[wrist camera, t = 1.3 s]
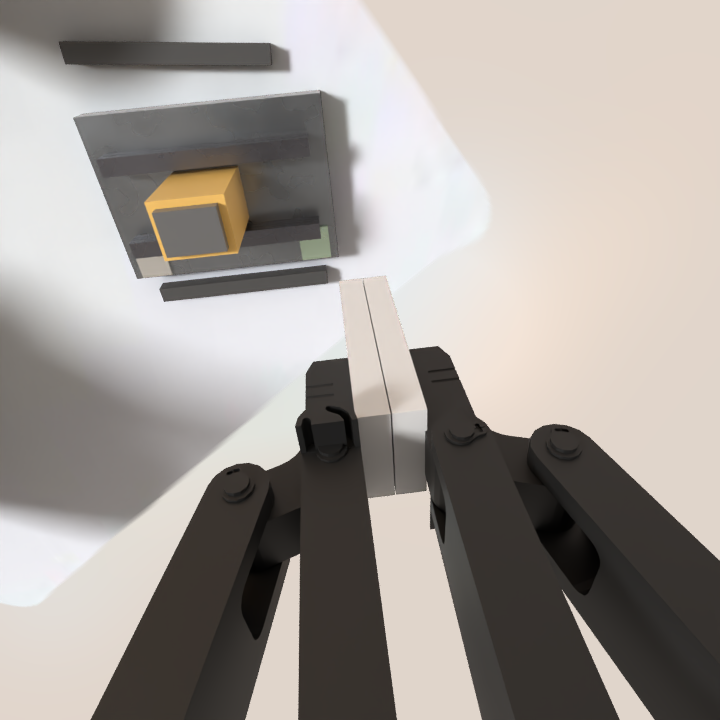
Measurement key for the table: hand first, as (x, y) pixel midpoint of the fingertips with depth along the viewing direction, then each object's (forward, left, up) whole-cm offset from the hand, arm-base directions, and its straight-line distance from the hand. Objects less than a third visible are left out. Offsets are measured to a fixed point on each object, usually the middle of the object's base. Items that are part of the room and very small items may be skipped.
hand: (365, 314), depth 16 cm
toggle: (-8, 0, -17) cm, 19 cm away
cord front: (-9, +7, -18) cm, 22 cm away
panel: (-8, 0, -18) cm, 20 cm away
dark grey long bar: (-8, -7, -18) cm, 21 cm away
